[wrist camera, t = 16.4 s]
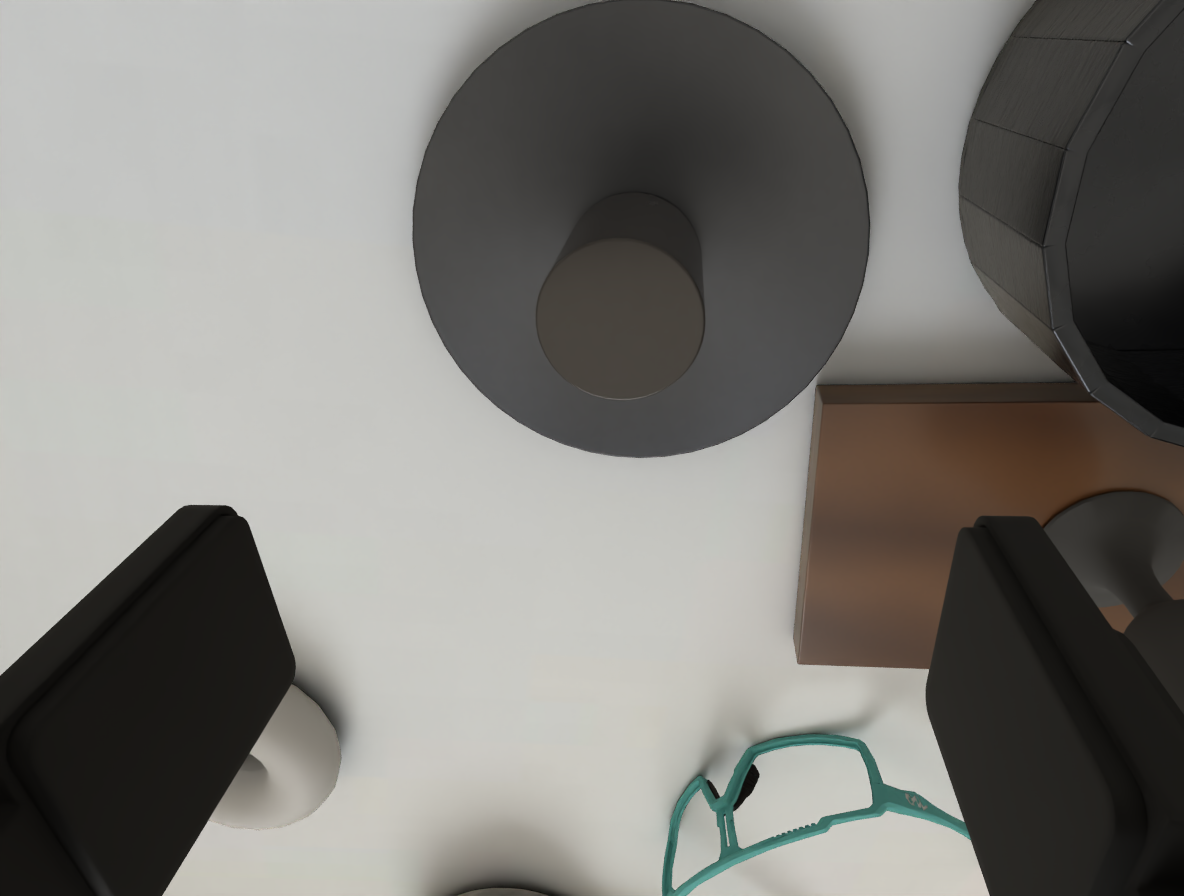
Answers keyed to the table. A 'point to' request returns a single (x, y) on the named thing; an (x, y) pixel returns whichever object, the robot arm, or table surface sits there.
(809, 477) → the board
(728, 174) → the lid
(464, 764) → the table surface
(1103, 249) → the pan
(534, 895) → the dish
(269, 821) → the donut
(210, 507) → the robot arm
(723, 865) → the sunglasses
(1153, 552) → the sundae
